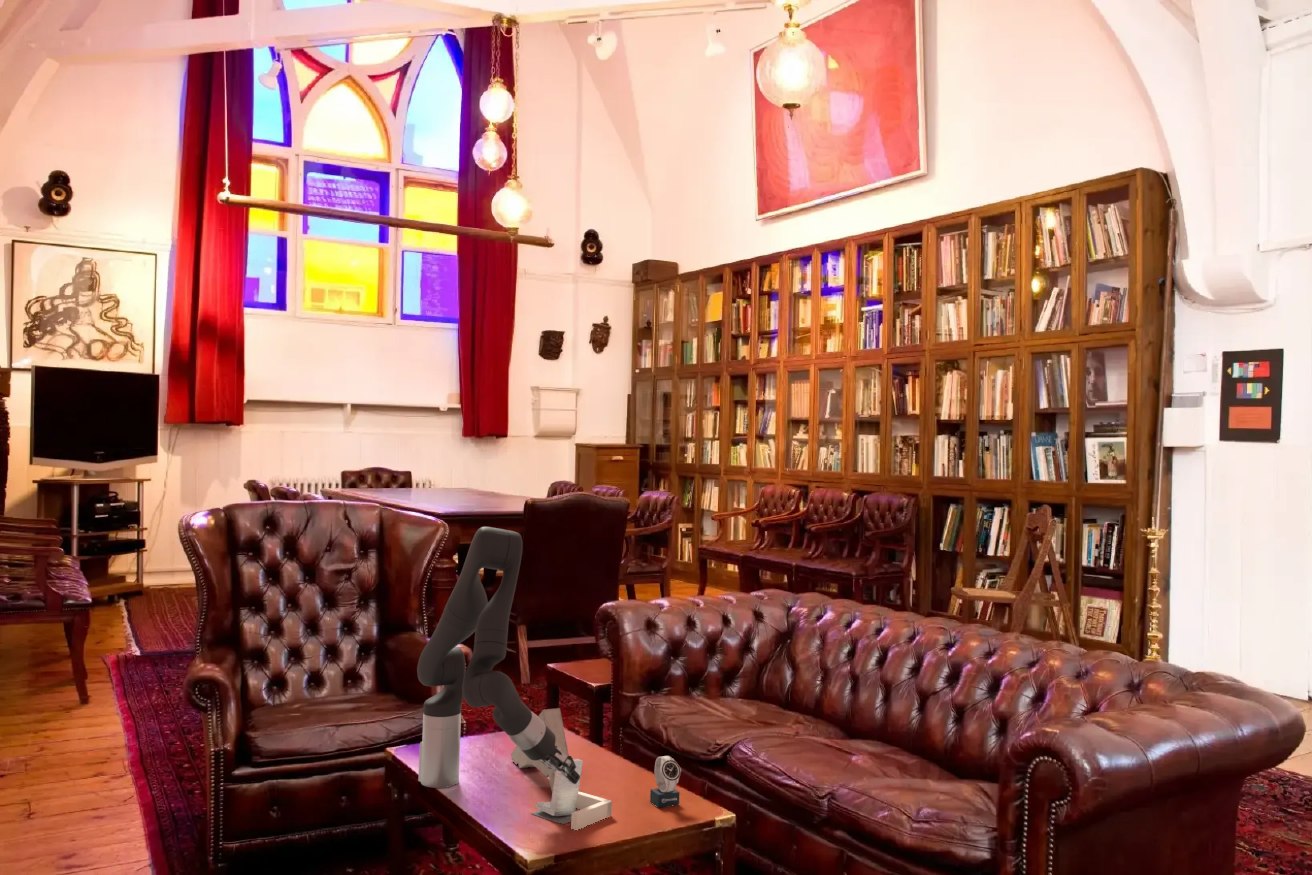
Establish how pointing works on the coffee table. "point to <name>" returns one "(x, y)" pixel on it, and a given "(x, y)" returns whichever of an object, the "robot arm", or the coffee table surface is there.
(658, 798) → the watch
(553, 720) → the letter a
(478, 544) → the robot arm
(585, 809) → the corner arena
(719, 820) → the coffee table surface
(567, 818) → the mat
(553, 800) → the angle bracket
